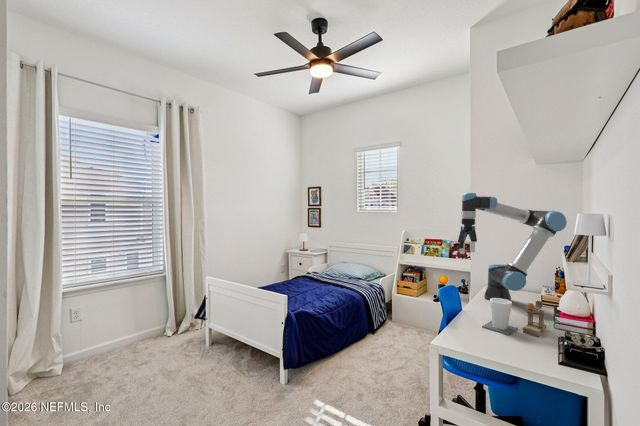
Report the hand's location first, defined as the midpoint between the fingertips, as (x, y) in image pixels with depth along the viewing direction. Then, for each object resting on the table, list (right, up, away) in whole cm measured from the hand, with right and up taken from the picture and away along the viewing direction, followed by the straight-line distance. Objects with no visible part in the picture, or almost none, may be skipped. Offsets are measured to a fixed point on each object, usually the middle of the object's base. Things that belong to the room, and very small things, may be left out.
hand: (467, 252), depth 189 cm
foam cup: (-1, -32, -36) cm, 48 cm away
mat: (-1, -33, -36) cm, 49 cm away
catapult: (+13, -33, -40) cm, 53 cm away
